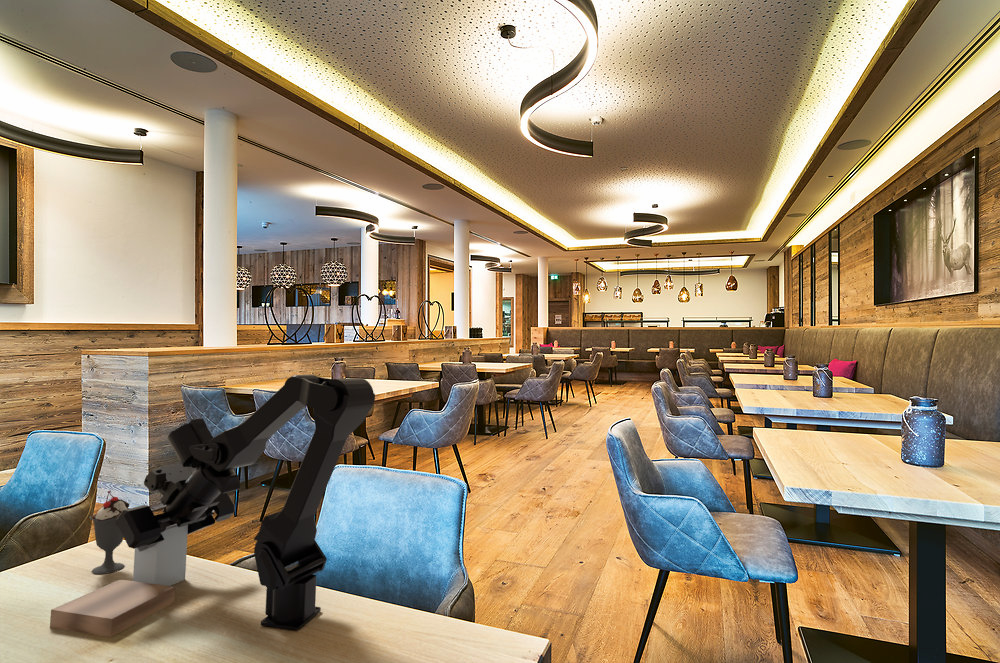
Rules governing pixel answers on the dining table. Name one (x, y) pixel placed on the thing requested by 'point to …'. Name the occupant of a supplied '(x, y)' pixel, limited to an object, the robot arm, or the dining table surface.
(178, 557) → the grey rectangular block
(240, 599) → the dining table surface
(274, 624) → the robot arm
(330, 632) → the dining table surface
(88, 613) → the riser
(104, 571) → the sundae
